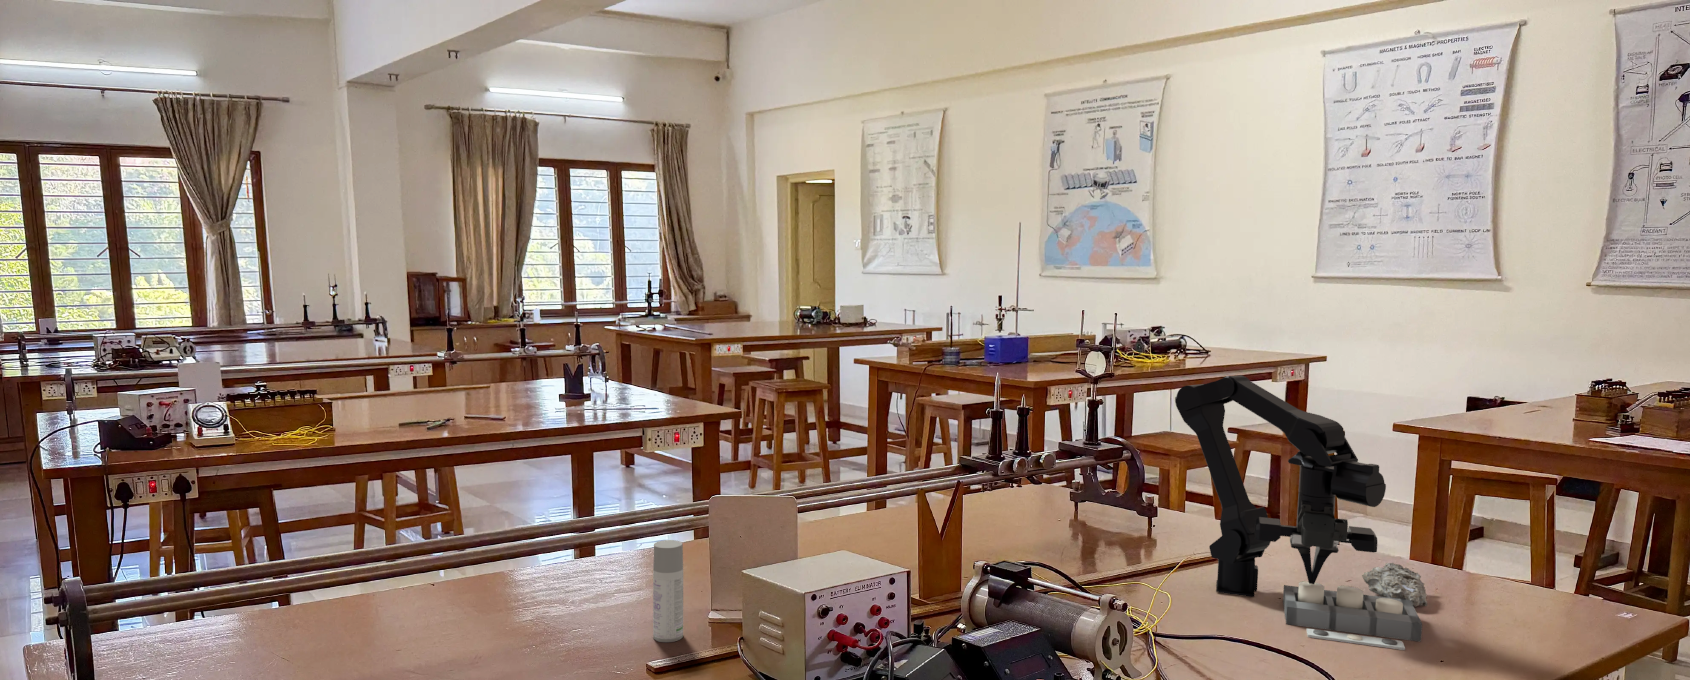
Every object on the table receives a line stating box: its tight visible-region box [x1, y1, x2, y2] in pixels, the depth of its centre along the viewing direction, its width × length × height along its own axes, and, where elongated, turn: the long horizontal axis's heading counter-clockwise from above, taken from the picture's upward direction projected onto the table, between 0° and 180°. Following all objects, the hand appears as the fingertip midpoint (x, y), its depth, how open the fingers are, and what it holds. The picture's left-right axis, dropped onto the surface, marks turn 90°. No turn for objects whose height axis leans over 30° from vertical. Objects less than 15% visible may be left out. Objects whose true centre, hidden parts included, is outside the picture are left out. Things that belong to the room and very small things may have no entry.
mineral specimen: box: [1361, 562, 1428, 607], centre depth 186 cm, size 6×11×12 cm
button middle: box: [1336, 585, 1364, 609], centre depth 175 cm, size 4×4×4 cm
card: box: [1306, 628, 1406, 651], centre depth 166 cm, size 14×3×1 cm, turn 70°
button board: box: [1282, 584, 1423, 643], centre depth 175 cm, size 20×12×3 cm, turn 70°
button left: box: [1298, 580, 1325, 605], centre depth 177 cm, size 4×4×4 cm
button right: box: [1375, 598, 1403, 614], centre depth 173 cm, size 4×4×4 cm
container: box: [652, 539, 684, 643], centre depth 162 cm, size 5×5×15 cm
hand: (1311, 583), depth 177 cm, fingers closed
